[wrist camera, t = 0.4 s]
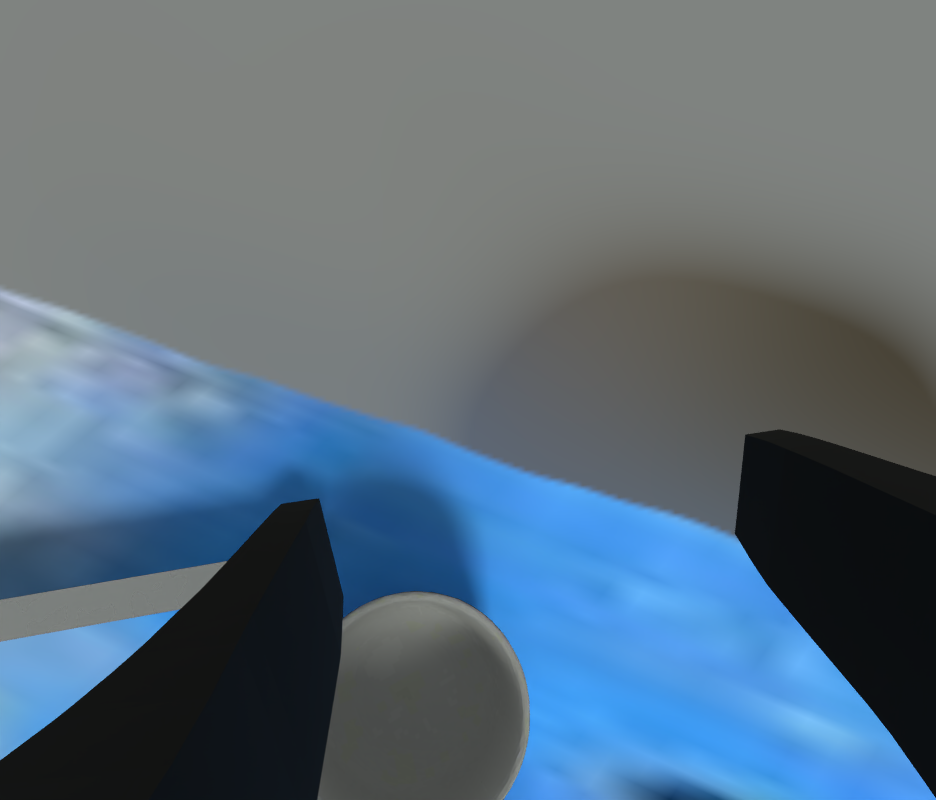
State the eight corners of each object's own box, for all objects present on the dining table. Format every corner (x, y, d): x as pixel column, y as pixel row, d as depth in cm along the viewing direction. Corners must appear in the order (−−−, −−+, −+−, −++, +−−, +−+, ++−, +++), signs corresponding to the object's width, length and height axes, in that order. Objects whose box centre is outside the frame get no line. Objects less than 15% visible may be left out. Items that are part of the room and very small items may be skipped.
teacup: (314, 597, 34) (286, 607, 26) (492, 575, 35) (515, 578, 27) (325, 871, 30) (296, 977, 22) (524, 835, 31) (560, 923, 24)
